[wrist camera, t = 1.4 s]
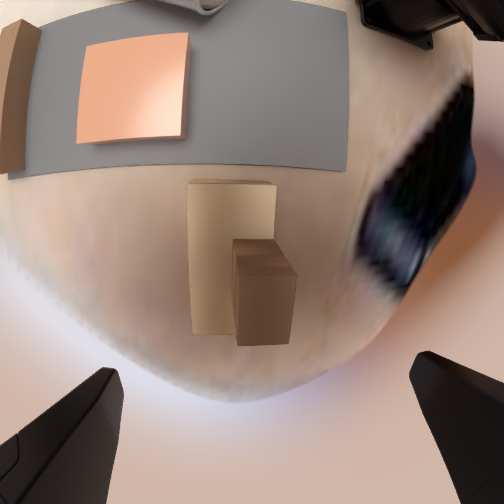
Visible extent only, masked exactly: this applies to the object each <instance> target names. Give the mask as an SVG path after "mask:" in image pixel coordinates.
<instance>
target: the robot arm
mask: <svg viewBox="0 0 504 504" xmlns="http://www.w3.org/2000/svg"><path fill="white" fill-rule="evenodd" d="M359 2H360V7H361V18H362V22H363V24H364V25H365V26H367V27H369V28H372V29H375V30H378V31H381V32H384V33H387V34H389V35H392V36H395V37H397V38H400V39H402V40H405V41H407V42H410V43H412V44H414V45H417V46H419V47H421V48H424V49H426V50H431V49H433V39H432V33H433V32H435V31H438V30H440V29H443V28H445V27H448V26H450V25H453V24H456V23H458V22H461V21H464V22H465V24H466V25H467V26H468V27H469V28H470V29H471V31H472V32H473V34H474V36H475V37H476V38H477V39H478V40H483V41H501V42H504V0H359ZM367 19H368V20H369V21H370V22H371V23H370V22H368V20H367ZM427 44H428V45H427ZM409 378H410V381H411V383H412V386H413V388H414V391H415V394H416V397H417V399H418V402H419V405H420V408H421V410H422V413H423V415H424V418H425V420H426V422H427V424H428V426H429V428H430V430H431V433H432V435H433V437H434V439H435V441H436V444H437V446H438V448H439V450H440V453H441V455H442V457H443V460H444V462H445V465H446V467H447V469H448V472H449V474H450V477H451V479H452V482H453V484H454V487H455V489H456V492H457V495H458V498H459V500H460V503H461V504H504V383H502V382H500V381H498V380H495V379H493V378H491V377H488V376H486V375H484V374H481V373H479V372H477V371H474V370H472V369H470V368H467V367H465V366H463V365H460V364H458V363H456V362H453V361H451V360H449V359H447V358H444V357H442V356H440V355H438V354H435V353H433V352H431V351H424V352H420V353H418V354H417V356H416V358H415V360H414V363H413V365H412V367H411V370H410V372H409ZM123 399H124V391H123V387H122V384H121V381H120V377H119V374H118V371H117V370H116V369H114V368H106V367H103V368H101V369H99V370H98V371H97V372H95V373H94V374H93V375H92V376H90V377H89V378H88V379H86V380H85V381H84V382H82V383H81V384H80V385H78V386H77V387H76V388H75V389H73V390H72V391H71V392H69V393H68V394H67V395H66V396H64V397H63V398H62V399H60V400H59V401H58V402H56V403H55V404H54V405H53V406H51V407H50V408H49V409H47V410H46V411H45V412H43V413H42V414H41V415H40V416H38V417H37V418H36V419H34V420H33V421H32V422H31V423H29V424H28V425H27V426H25V427H24V428H23V429H21V430H20V431H19V432H18V434H15V435H14V436H12V437H11V438H10V439H8V440H7V441H6V442H4V443H3V444H1V445H0V504H106V501H107V495H108V490H109V485H110V479H111V474H112V469H113V464H114V460H115V455H116V450H117V446H118V440H119V431H120V421H121V414H122V406H123Z"/></svg>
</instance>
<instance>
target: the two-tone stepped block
mask: <svg viewBox="0 0 504 504" xmlns="http://www.w3.org/2000/svg"><path fill="white" fill-rule="evenodd" d="M276 191H277V186H276V185H274V184H272V183H270V182H268V181H250V180H191V181H190V182H189V183H188V184H187V233H188V268H189V291H190V308H191V324H192V335H236V339H237V346H255V345H278V344H289V337H290V330H291V322H292V314H293V306H294V298H295V289H296V280H297V275H296V274H295V272H294V271H293V269H292V267H291V266H290V264H289V263H288V261H287V260H286V258H285V256H284V255H283V253H282V252H281V250H280V249H279V247H278V245H277V244H276V242H275V241H274V224H275V208H276Z"/></svg>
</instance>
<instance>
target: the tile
mask: <svg viewBox="0 0 504 504" xmlns="http://www.w3.org/2000/svg"><path fill="white" fill-rule="evenodd" d="M191 55H192V45H191V41H190V37H189V33H170V34H158V35H149V36H140V37H133V38H126V39H120V40H115V41H109V42H104V43H99V44H95V45H90V46H87V47H86V52H85V58H84V64H83V71H82V78H81V86H80V95H79V105H78V118H77V139H76V144H87V145H97V144H107V143H117V142H129V141H144V140H163V139H186V127H187V108H188V92H189V78H190V66H191Z"/></svg>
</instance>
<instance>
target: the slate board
mask: <svg viewBox="0 0 504 504" xmlns="http://www.w3.org/2000/svg"><path fill="white" fill-rule="evenodd" d="M170 33H189V37H190V41H191V45H192V55H191V66H190V78H189V92H188V108H187V127H186V139H163V140H144V141H129V142H117V143H107V144H97V145H87V144H76V139H77V118H78V105H79V95H80V86H81V78H82V71H83V64H84V58H85V52H86V47H87V46H90V45H95V44H99V43H104V42H109V41H115V40H120V39H126V38H133V37H140V36H149V35H158V34H170ZM348 114H349V57H348V32H347V16H346V12H342V11H339V10H335V9H331V8H326V7H322V6H317V5H313V4H307V3H302V2H296V1H290V0H231V1H230V2H229V3H228V4H226V5H225V6H224V7H223V8H221V9H220V10H218V11H217V12H215V13H213V14H210V15H201V14H200V13H197V12H195V11H192V10H189V9H185V8H182V7H178V6H175V5H171V4H168V3H164V2H161V1H157V0H137V1H131V2H125V3H120V4H115V5H110V6H106V7H101V8H97V9H93V10H90V11H86V12H82V13H79V14H75V15H72V16H69V17H66V18H63V19H60V20H57V21H54V22H51V23H49V24H46V25H43V26H41V27H38V28H37V27H35V26H33V25H32V24H30V23H28V22H26V21H25V20H23V19H20V20H18V21H16V22H14V23H12V24H10V25H8V26H6V27H4V28H3V29H2V32H1V35H0V174H5V173H8V180H9V179H15V178H21V177H27V176H33V175H40V174H47V173H54V172H62V171H71V170H80V169H91V168H102V167H115V166H130V165H151V164H252V165H273V166H289V167H303V168H315V169H325V170H335V171H345V172H346V159H347V141H348Z"/></svg>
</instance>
